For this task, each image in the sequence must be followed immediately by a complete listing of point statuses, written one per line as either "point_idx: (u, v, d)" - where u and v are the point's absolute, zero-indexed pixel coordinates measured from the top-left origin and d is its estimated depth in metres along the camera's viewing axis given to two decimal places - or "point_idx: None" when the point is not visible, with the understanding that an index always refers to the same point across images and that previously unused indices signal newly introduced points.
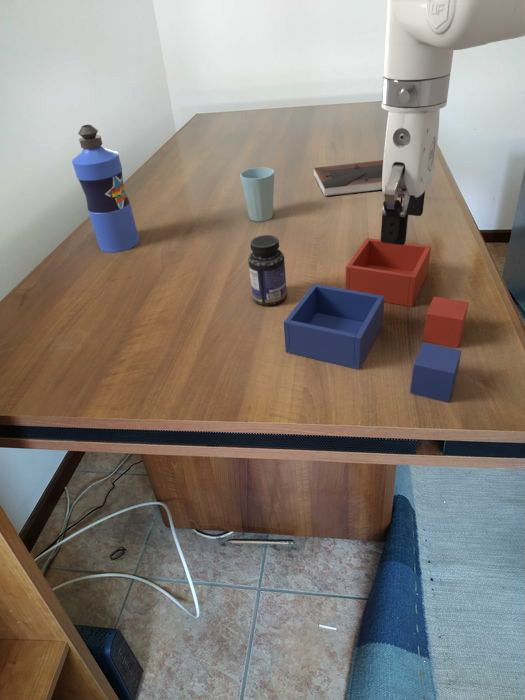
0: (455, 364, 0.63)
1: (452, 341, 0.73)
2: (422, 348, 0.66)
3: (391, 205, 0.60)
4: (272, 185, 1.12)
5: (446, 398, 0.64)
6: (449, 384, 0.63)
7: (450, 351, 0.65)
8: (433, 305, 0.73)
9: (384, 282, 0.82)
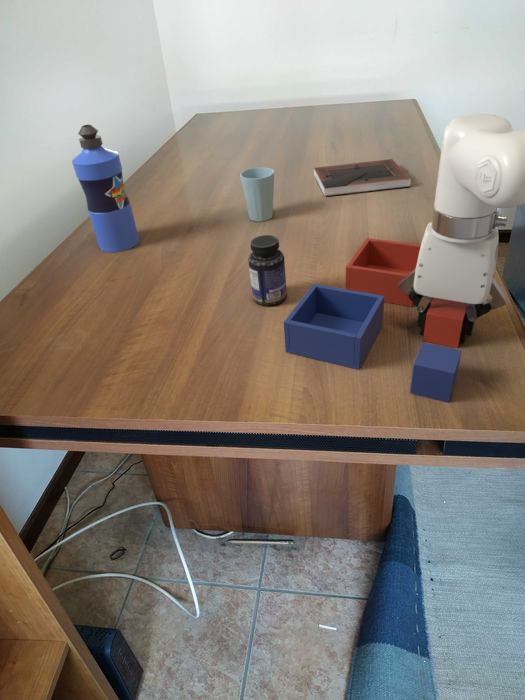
0: (455, 364, 0.63)
1: (452, 341, 0.73)
2: (422, 348, 0.66)
3: None
4: (272, 185, 1.12)
5: (446, 398, 0.64)
6: (449, 384, 0.63)
7: (450, 351, 0.65)
8: (433, 305, 0.73)
9: (384, 282, 0.82)
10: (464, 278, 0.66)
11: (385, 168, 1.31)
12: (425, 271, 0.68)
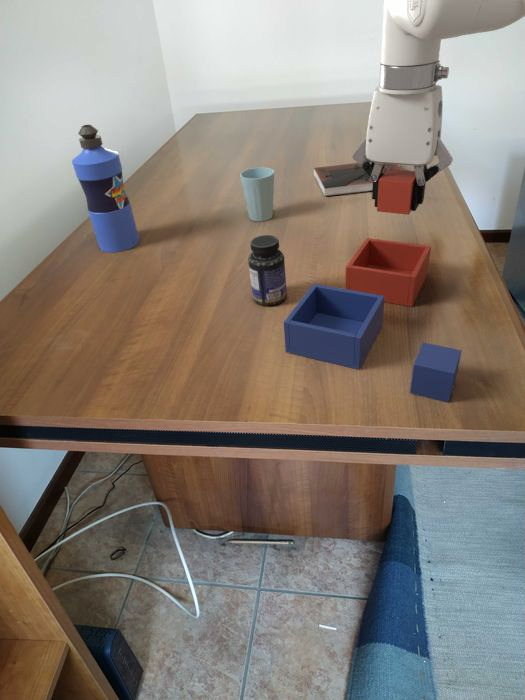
0: (455, 364, 0.63)
1: (403, 208, 0.76)
2: (422, 348, 0.66)
3: None
4: (272, 185, 1.12)
5: (446, 398, 0.64)
6: (449, 384, 0.63)
7: (450, 351, 0.65)
8: (386, 174, 0.77)
9: (384, 282, 0.82)
10: (411, 136, 0.70)
11: (385, 168, 1.31)
12: (375, 133, 0.72)
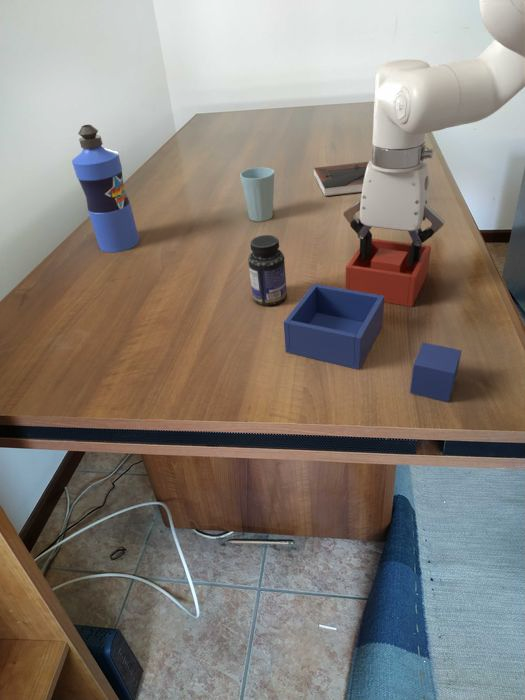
0: (455, 364, 0.63)
1: None
2: (422, 348, 0.66)
3: None
4: (272, 185, 1.12)
5: (446, 398, 0.64)
6: (449, 384, 0.63)
7: (450, 351, 0.65)
8: (377, 255, 0.86)
9: (384, 282, 0.82)
10: (400, 206, 0.77)
11: None
12: (368, 202, 0.79)
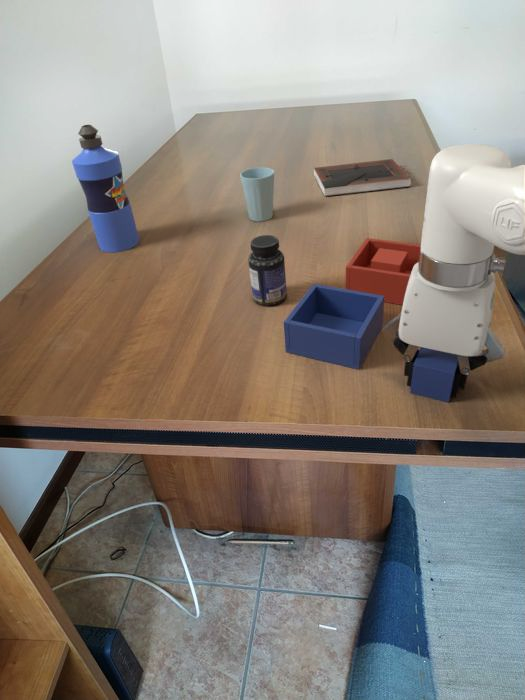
0: (455, 364, 0.63)
1: None
2: (422, 348, 0.66)
3: None
4: (272, 185, 1.12)
5: (446, 398, 0.64)
6: (449, 384, 0.63)
7: None
8: (377, 255, 0.86)
9: (384, 282, 0.82)
10: (456, 329, 0.58)
11: (385, 168, 1.31)
12: (411, 319, 0.60)
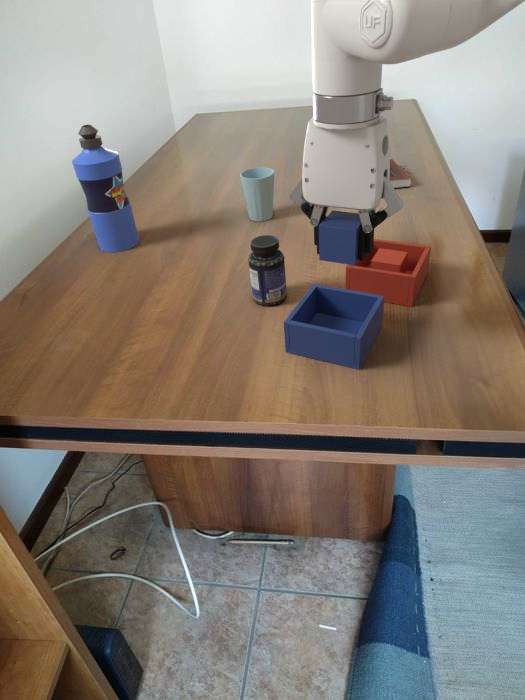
0: (359, 224, 0.63)
1: None
2: (330, 214, 0.66)
3: None
4: (272, 185, 1.12)
5: (352, 260, 0.64)
6: (353, 243, 0.63)
7: (357, 215, 0.65)
8: (377, 255, 0.86)
9: (384, 282, 0.82)
10: (351, 177, 0.58)
11: None
12: (311, 172, 0.60)
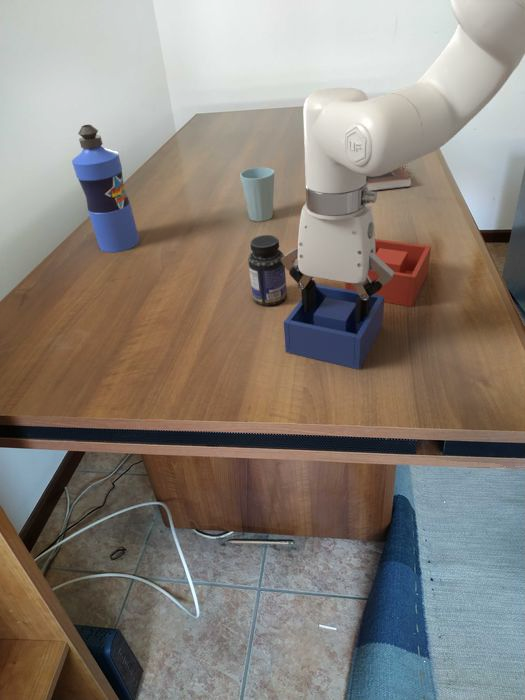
0: (348, 314, 0.72)
1: None
2: (324, 302, 0.75)
3: None
4: (272, 185, 1.12)
5: None
6: None
7: (347, 304, 0.75)
8: (377, 255, 0.86)
9: None
10: (341, 257, 0.65)
11: None
12: (305, 250, 0.68)
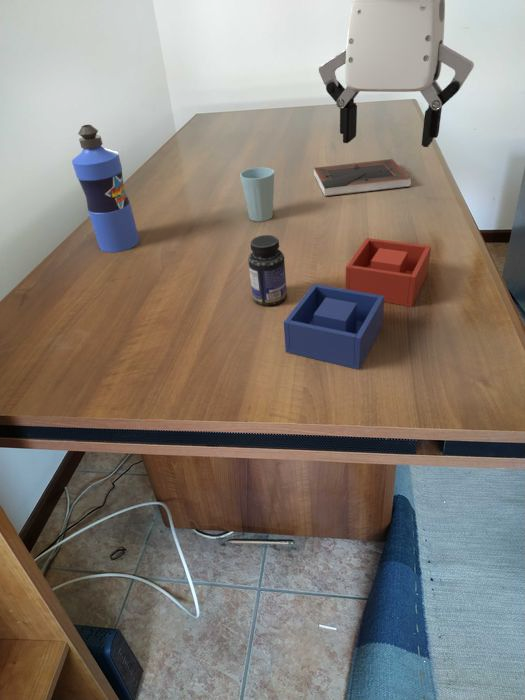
0: (348, 314, 0.72)
1: None
2: (324, 302, 0.75)
3: (462, 84, 0.54)
4: (272, 185, 1.12)
5: None
6: None
7: (347, 304, 0.75)
8: (377, 255, 0.86)
9: (384, 282, 0.82)
10: (403, 49, 0.53)
11: (385, 168, 1.31)
12: (356, 49, 0.55)
